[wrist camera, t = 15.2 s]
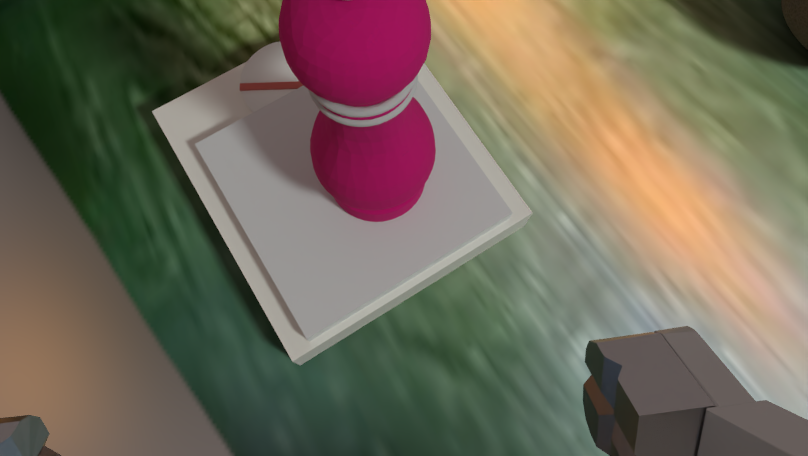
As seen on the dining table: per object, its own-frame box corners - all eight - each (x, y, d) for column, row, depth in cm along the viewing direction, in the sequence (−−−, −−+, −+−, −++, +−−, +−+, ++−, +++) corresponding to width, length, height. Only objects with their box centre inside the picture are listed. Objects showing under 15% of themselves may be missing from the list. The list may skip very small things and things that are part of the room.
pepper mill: (430, 233, 38) (449, 54, 19) (316, 227, 38) (220, 45, 19) (435, 128, 40) (456, -128, 21) (326, 123, 40) (249, -135, 21)
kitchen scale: (524, 226, 43) (536, 207, 39) (300, 365, 40) (288, 360, 36) (374, 17, 48) (372, -19, 44) (166, 128, 45) (143, 100, 41)
